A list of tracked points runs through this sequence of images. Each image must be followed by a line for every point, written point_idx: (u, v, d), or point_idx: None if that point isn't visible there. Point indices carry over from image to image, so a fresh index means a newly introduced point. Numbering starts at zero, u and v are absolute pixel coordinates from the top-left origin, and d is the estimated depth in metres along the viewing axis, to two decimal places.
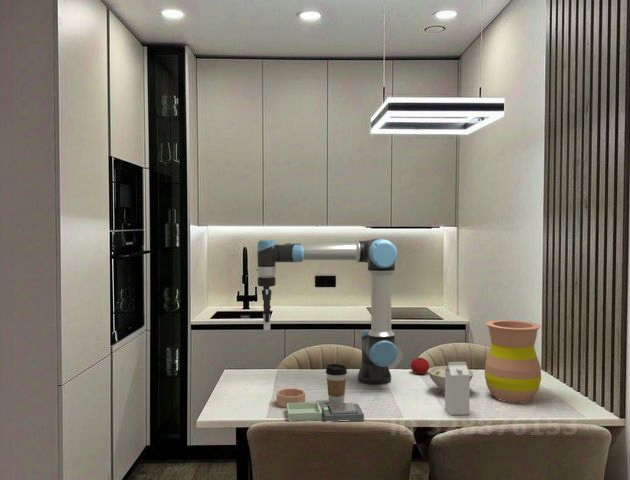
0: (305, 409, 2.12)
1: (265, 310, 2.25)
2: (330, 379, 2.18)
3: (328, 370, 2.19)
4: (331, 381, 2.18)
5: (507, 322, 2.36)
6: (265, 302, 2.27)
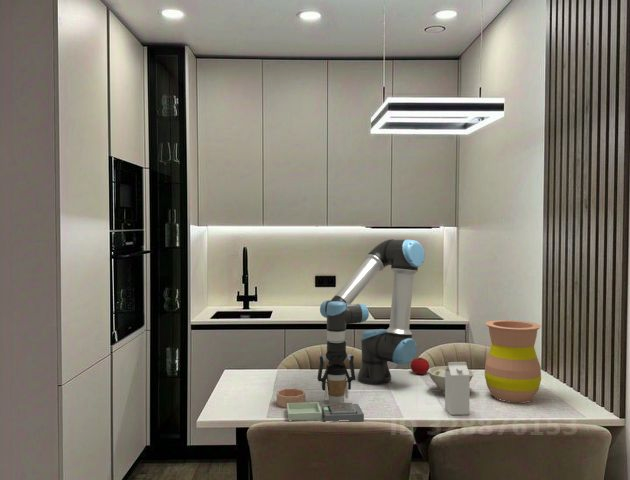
0: (305, 409, 2.12)
1: (317, 377, 2.21)
2: (330, 379, 2.18)
3: (328, 370, 2.19)
4: (331, 381, 2.18)
5: (507, 322, 2.36)
6: None
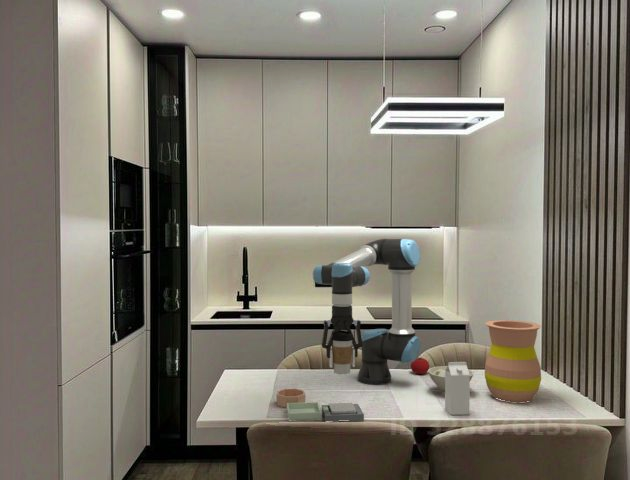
0: (305, 409, 2.12)
1: None
2: (335, 345, 2.03)
3: (333, 336, 2.04)
4: (336, 348, 2.03)
5: (507, 322, 2.36)
6: (323, 335, 2.06)
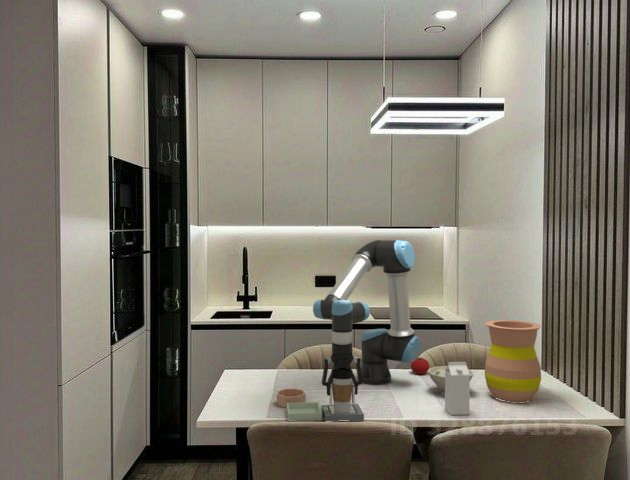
0: (305, 409, 2.12)
1: (322, 381, 2.06)
2: (335, 383, 2.03)
3: (333, 374, 2.04)
4: (336, 385, 2.03)
5: (507, 322, 2.36)
6: (323, 372, 2.06)
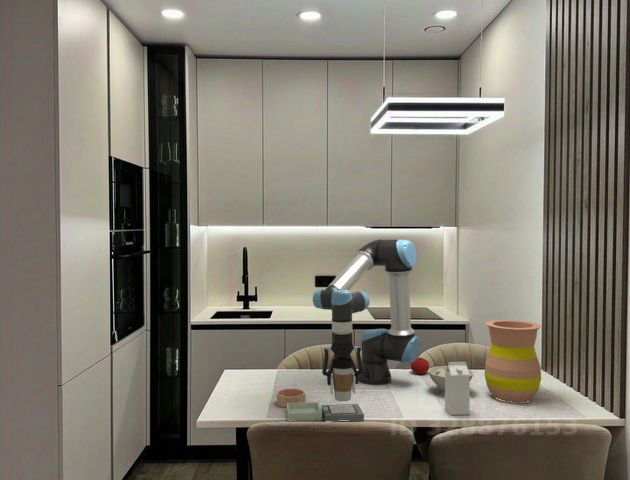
0: (305, 409, 2.12)
1: (322, 371, 2.06)
2: (336, 373, 2.04)
3: (334, 363, 2.04)
4: (337, 375, 2.03)
5: (507, 322, 2.36)
6: (323, 362, 2.06)
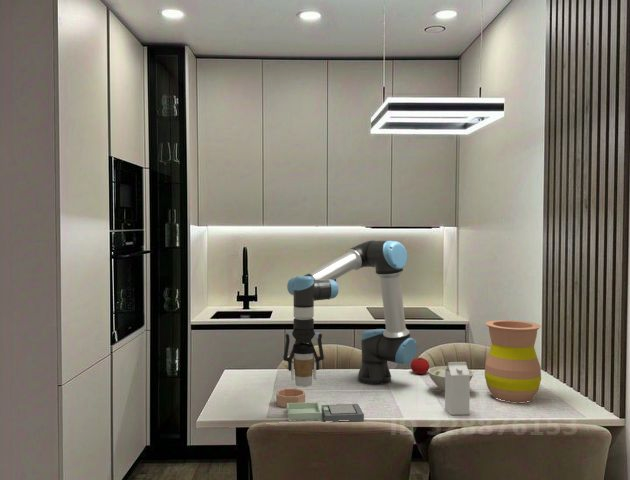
0: (305, 409, 2.12)
1: (283, 357, 2.07)
2: (296, 358, 2.05)
3: (294, 349, 2.05)
4: (297, 360, 2.04)
5: (507, 322, 2.36)
6: None
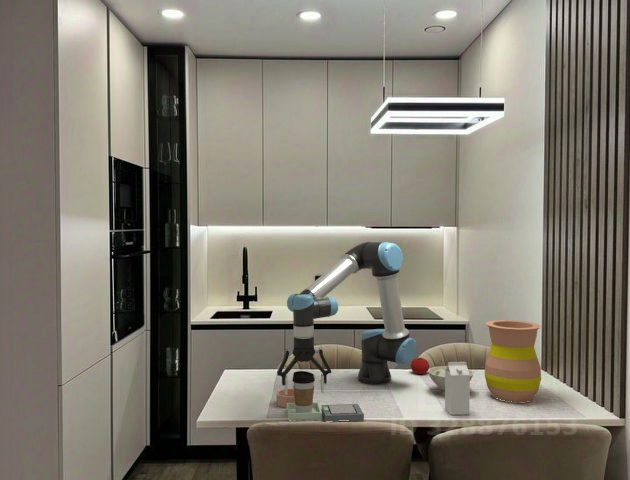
0: None
1: (277, 371, 2.07)
2: (296, 388, 2.05)
3: (294, 378, 2.05)
4: (298, 390, 2.04)
5: (507, 322, 2.36)
6: (281, 363, 2.07)
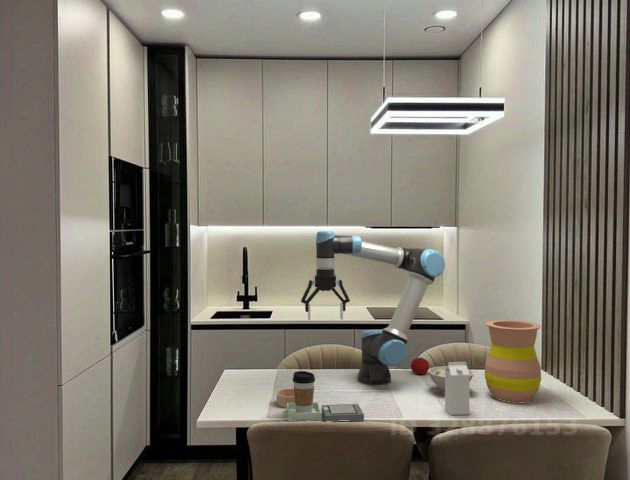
0: None
1: (301, 299, 2.31)
2: (297, 387, 2.05)
3: (295, 378, 2.06)
4: (298, 390, 2.05)
5: (507, 322, 2.36)
6: (305, 292, 2.31)
